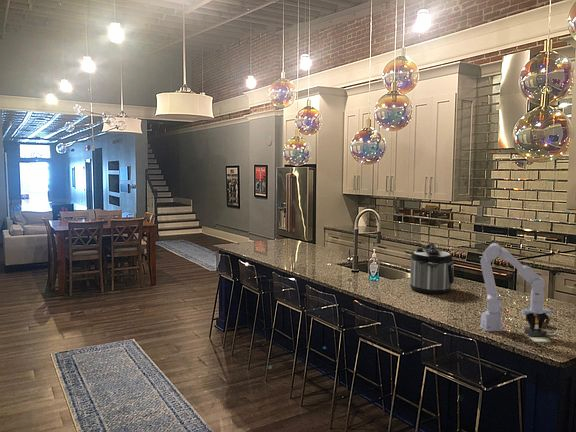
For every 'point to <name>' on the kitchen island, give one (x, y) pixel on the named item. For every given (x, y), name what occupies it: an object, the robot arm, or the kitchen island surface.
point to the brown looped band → (543, 322)
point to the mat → (540, 339)
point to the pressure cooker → (431, 270)
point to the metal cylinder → (536, 325)
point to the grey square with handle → (537, 332)
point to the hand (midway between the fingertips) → (535, 328)
